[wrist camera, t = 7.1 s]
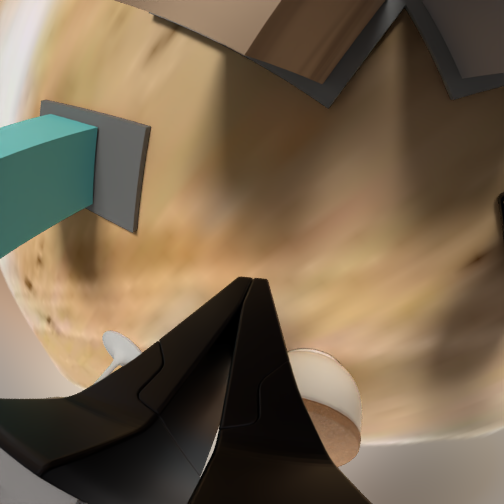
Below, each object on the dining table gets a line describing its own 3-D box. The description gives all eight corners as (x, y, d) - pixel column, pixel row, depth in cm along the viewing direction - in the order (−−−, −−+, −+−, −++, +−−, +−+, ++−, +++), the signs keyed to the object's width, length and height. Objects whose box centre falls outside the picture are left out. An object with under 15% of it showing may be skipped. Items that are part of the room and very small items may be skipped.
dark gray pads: (554, 73, 9) (558, 73, 8) (85, 260, 30) (81, 263, 29) (403, -136, 3) (404, -140, 3) (18, 120, 25) (14, 121, 24)
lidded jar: (376, 401, 25) (363, 488, 18) (276, 405, 30) (246, 479, 23) (357, 319, 22) (341, 426, 14) (235, 333, 27) (186, 416, 19)
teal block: (97, 127, 21) (-37, 174, 11) (92, 203, 25) (-18, 270, 15) (50, 113, 22) (-62, 151, 12) (48, 181, 26) (-49, 232, 16)
